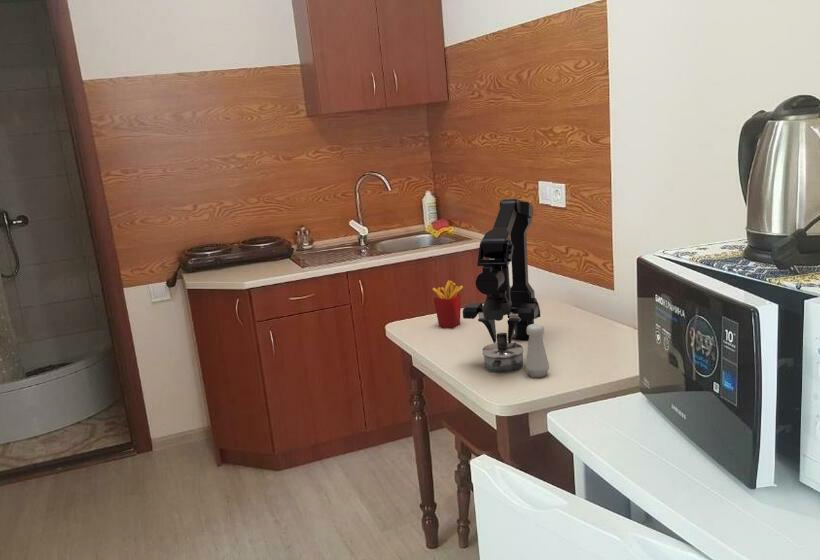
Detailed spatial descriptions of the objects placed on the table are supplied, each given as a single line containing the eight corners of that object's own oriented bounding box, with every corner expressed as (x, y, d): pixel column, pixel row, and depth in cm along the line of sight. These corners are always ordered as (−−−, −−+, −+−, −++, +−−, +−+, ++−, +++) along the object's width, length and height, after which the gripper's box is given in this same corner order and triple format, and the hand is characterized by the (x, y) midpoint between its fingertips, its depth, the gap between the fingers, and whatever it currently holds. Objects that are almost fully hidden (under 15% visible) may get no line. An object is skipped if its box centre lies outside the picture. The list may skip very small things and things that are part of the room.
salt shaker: (549, 378, 177) (546, 328, 174) (525, 379, 178) (522, 329, 175) (549, 370, 182) (547, 321, 179) (526, 370, 183) (523, 322, 181)
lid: (488, 344, 194) (487, 327, 193) (527, 345, 190) (526, 328, 189) (477, 357, 185) (476, 339, 184) (518, 359, 181) (517, 341, 180)
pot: (492, 355, 197) (492, 341, 196) (529, 357, 193) (528, 342, 192) (477, 375, 183) (476, 360, 182) (515, 377, 180) (514, 362, 179)
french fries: (435, 328, 227) (431, 282, 224) (448, 321, 234) (444, 276, 231) (459, 330, 223) (455, 283, 219) (472, 323, 229) (468, 277, 226)
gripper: (453, 292, 180) (458, 351, 183) (527, 292, 173) (531, 354, 176) (467, 281, 190) (471, 338, 193) (537, 281, 183) (540, 340, 186)
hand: (502, 342), depth 187 cm, fingers open, 4 cm apart
